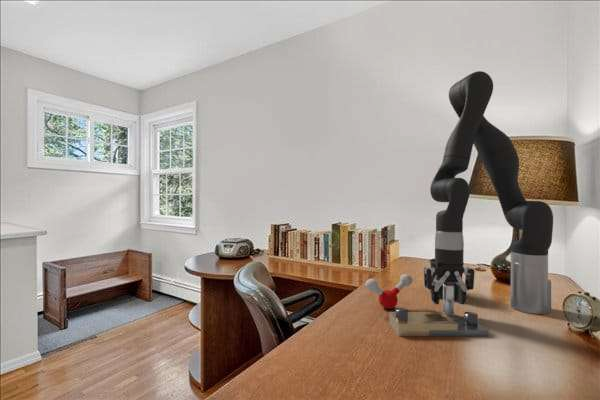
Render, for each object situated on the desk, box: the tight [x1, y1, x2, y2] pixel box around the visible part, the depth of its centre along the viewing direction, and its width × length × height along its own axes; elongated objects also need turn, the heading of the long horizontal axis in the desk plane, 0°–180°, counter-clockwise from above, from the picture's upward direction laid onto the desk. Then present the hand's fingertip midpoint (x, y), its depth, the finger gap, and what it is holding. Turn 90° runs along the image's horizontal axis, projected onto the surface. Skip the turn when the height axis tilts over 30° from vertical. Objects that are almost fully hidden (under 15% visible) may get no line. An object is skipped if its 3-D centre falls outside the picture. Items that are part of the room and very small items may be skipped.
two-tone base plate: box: [388, 307, 489, 337], centre depth 80 cm, size 22×8×5 cm, turn 90°
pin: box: [442, 281, 456, 318], centre depth 90 cm, size 4×4×10 cm
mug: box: [429, 258, 465, 300], centre depth 109 cm, size 11×15×12 cm
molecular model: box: [365, 273, 413, 310], centre depth 95 cm, size 18×6×10 cm, turn 124°
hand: (448, 303), depth 90 cm, fingers open, 7 cm apart
